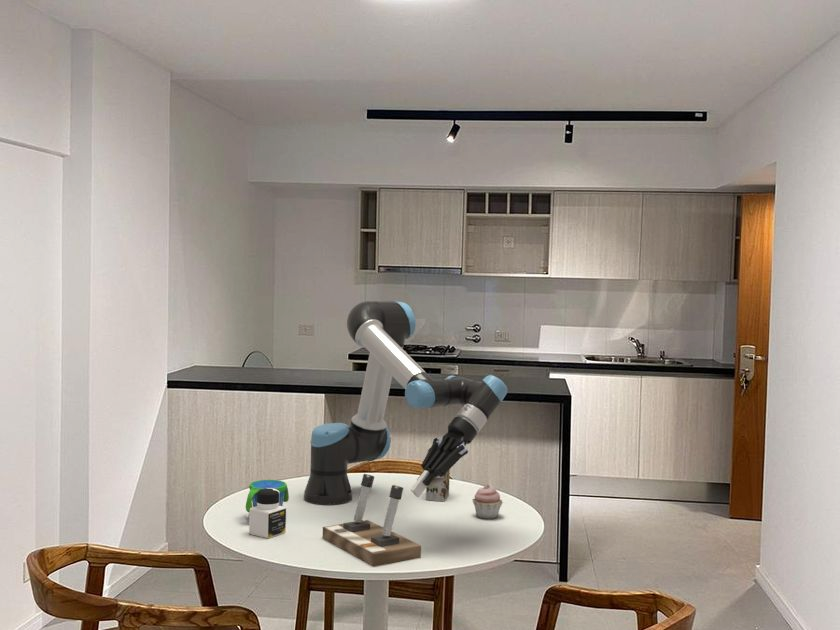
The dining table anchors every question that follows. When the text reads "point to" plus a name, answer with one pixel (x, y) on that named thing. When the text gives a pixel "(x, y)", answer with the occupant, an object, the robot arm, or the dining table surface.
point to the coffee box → (438, 487)
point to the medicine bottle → (267, 515)
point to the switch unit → (371, 542)
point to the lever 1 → (363, 496)
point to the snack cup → (264, 484)
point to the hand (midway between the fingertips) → (414, 493)
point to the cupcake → (487, 502)
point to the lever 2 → (392, 509)
